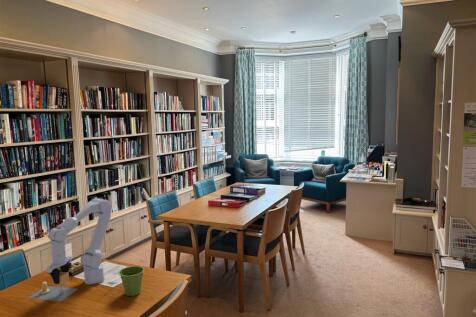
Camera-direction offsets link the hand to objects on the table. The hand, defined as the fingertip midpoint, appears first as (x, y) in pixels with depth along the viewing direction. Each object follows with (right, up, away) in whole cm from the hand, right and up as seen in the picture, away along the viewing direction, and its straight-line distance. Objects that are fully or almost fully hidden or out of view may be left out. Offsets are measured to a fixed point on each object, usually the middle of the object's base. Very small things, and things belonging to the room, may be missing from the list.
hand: (60, 280), depth 165 cm
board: (-4, -8, +2) cm, 9 cm away
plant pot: (+33, -7, +4) cm, 34 cm away
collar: (0, -1, 0) cm, 1 cm away
